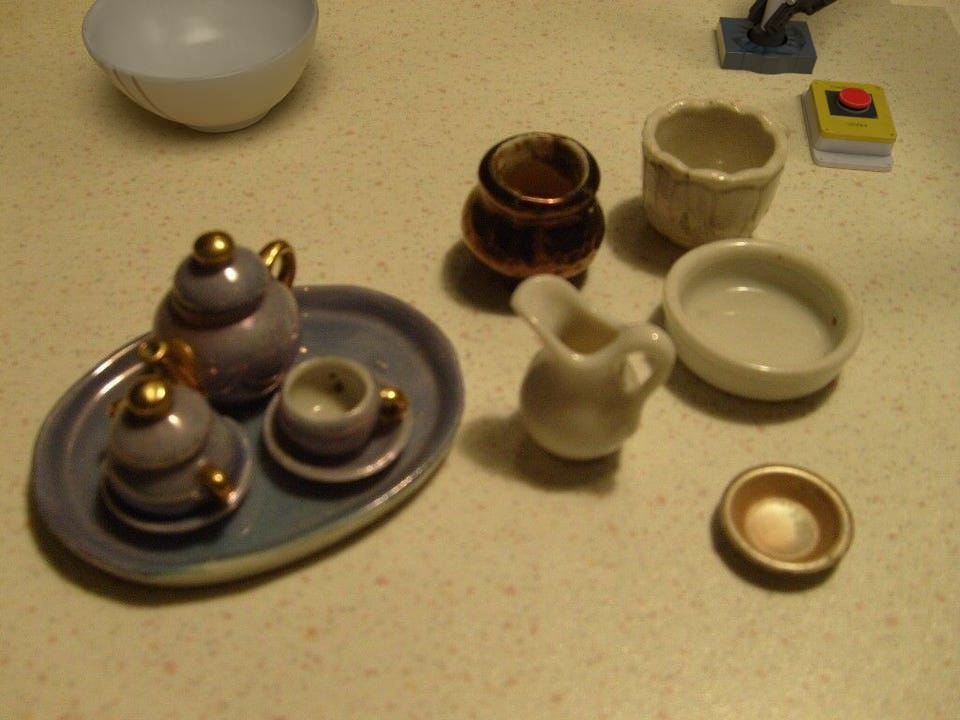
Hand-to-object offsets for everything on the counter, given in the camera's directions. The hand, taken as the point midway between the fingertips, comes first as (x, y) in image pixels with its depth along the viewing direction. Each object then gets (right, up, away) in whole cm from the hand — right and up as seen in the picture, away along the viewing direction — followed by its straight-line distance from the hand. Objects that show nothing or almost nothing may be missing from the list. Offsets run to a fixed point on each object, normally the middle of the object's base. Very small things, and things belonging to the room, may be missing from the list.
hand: (760, 25), depth 113 cm
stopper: (+2, -2, +4) cm, 4 cm away
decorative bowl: (-70, -12, -5) cm, 71 cm away
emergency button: (+8, -16, -7) cm, 19 cm away
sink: (+2, -2, +4) cm, 5 cm away
